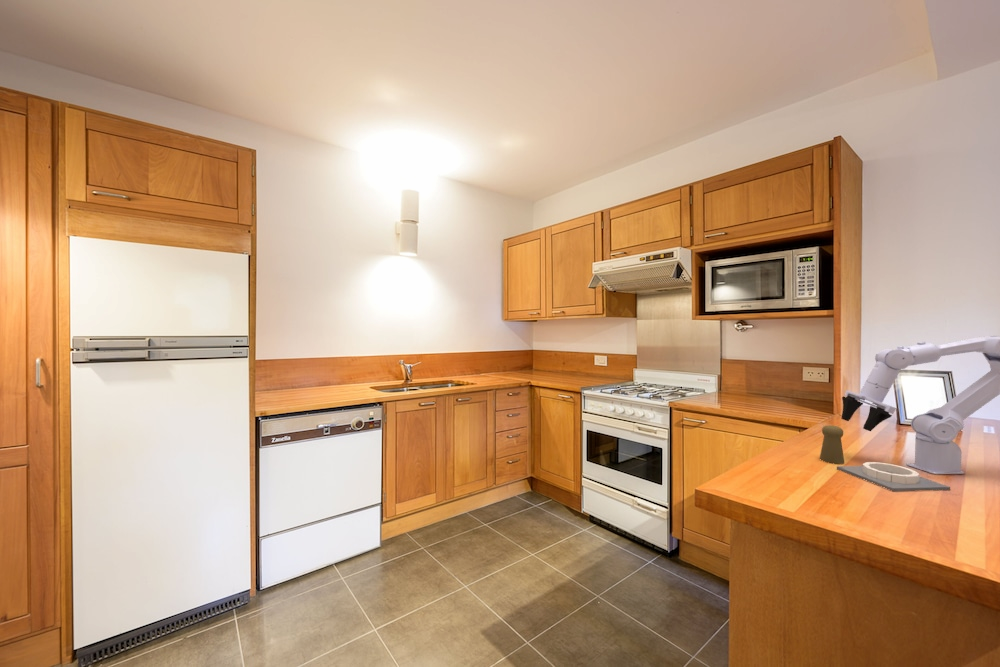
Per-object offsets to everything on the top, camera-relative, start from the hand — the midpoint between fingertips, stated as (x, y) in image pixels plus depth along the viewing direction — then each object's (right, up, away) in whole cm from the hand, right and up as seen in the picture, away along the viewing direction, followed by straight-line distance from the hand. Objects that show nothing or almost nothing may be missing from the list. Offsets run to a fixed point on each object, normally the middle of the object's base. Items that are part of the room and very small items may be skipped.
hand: (855, 424), depth 126 cm
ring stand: (-3, -12, -14) cm, 18 cm away
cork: (-6, -12, +1) cm, 13 cm away
